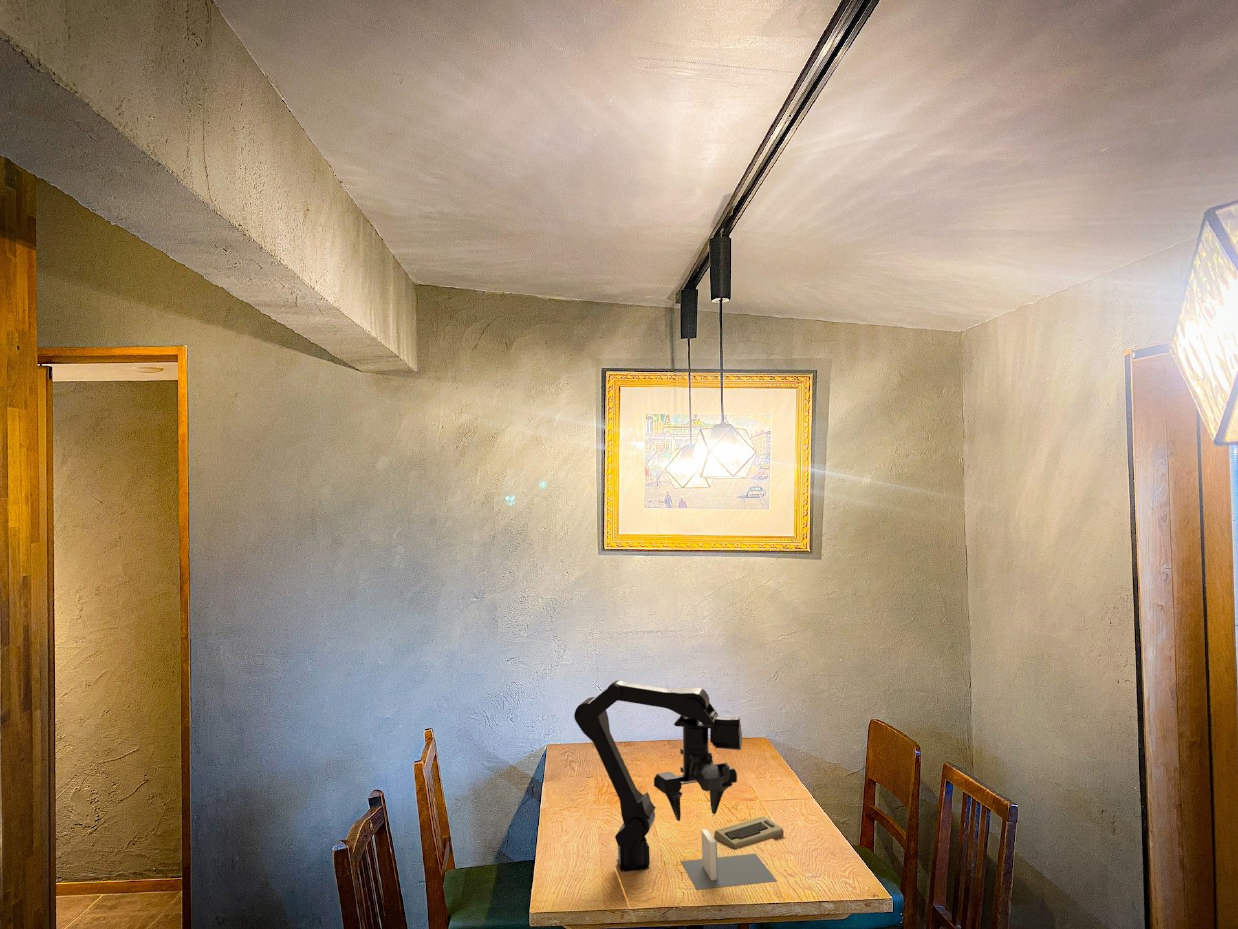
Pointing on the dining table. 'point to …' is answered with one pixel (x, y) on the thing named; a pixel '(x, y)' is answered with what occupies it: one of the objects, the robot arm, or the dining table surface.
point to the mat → (729, 872)
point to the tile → (709, 854)
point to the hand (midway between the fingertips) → (696, 817)
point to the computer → (748, 832)
